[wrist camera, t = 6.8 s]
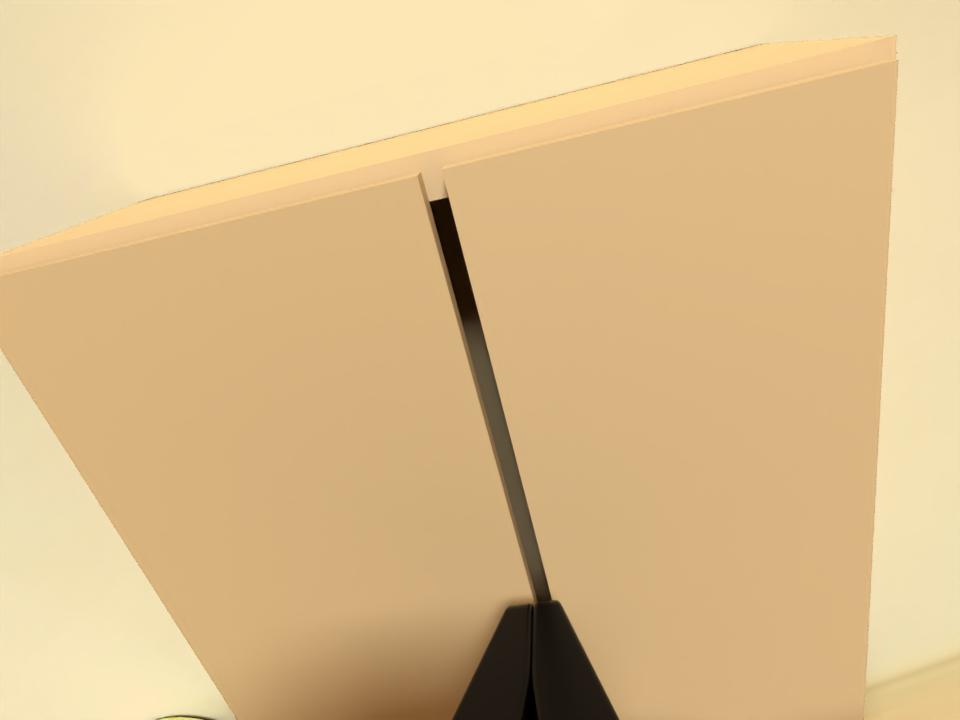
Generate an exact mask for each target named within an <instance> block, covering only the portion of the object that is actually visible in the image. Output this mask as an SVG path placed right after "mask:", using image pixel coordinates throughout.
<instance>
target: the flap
mask: <svg viewBox="0 0 960 720" xmlns="http://www.w3.org/2000/svg"><path fill="white" fill-rule="evenodd" d="M897 78H898V60H881V61H877V62H872V63H868V64H864V65H860V66H856V67H852V68H847V69H843V70H839V71H835V72H831V73H827V74H823V75H818V76H814V77H810V78H806V79H802V80H798V81H793V82H789V83H785V84H781V85H777V86H773V87H769V88H764V89H760V90H756V91H752V92H748V93H744V94H740V95H735V96H731V97H727V98H723V99H719V100H715V101H710V102H706V103H702V104H698V105H694V106H690V107H686V108H681V109H677V110H673V111H669V112H665V113H661V114H656V115H652V116H648V117H644V118H640V119H636V120H632V121H627V122H623V123H619V124H615V125H611V126H607V127H603V128H598V129H594V130H590V131H586V132H582V133H578V134H573V135H569V136H565V137H561V138H557V139H553V140H549V141H544V142H540V143H536V144H532V145H528V146H524V147H519V148H515V149H511V150H507V151H503V152H499V153H495V154H490V155H486V156H482V157H478V158H474V159H470V160H465V161H461V162H457V163H453V164H449V165H445V166H444V167H443V168H442V173H443V177H444V181H445V185H446V189H447V193H448V196H449V200H450V204H451V208H452V212H453V216H454V220H455V224H456V228H457V231H458V235H459V239H460V243H461V247H462V251H463V255H464V259H465V263H466V267H467V270H468V274H469V278H470V282H471V286H472V290H473V294H474V298H475V302H476V305H477V309H478V313H479V317H480V321H481V325H482V329H483V333H484V337H485V340H486V344H487V348H488V352H489V356H490V360H491V364H492V368H493V372H494V376H495V379H496V383H497V387H498V391H499V395H500V399H501V403H502V407H503V411H504V414H505V418H506V422H507V426H508V430H509V434H510V438H511V442H512V446H513V449H514V453H515V457H516V461H517V465H518V469H519V473H520V477H521V481H522V485H523V488H524V492H525V496H526V500H527V504H528V508H529V512H530V516H531V520H532V523H533V527H534V531H535V535H536V539H537V543H538V547H539V551H540V555H541V559H542V562H543V566H544V570H545V574H546V578H547V582H548V586H549V590H550V594H551V597H552V600H557V601H559V602H560V603H561V605H562V607H563V608H564V610H565V612H566V614H567V616H568V618H569V620H570V622H571V624H572V626H573V628H574V630H575V632H576V634H577V636H578V638H579V640H580V642H581V644H582V646H583V648H584V650H585V652H586V654H587V656H588V658H589V660H590V662H591V664H592V666H593V668H594V670H595V672H596V674H597V676H598V678H599V680H600V682H601V684H602V686H603V688H604V690H605V692H606V694H607V696H608V698H609V700H610V702H611V703H612V705H613V707H614V709H615V711H616V713H617V715H618V717H619V719H620V720H864V703H865V684H866V665H867V646H868V627H869V608H870V589H871V570H872V551H873V532H874V513H875V495H876V476H877V457H878V438H879V419H880V400H881V381H882V362H883V343H884V324H885V305H886V286H887V267H888V248H889V230H890V211H891V192H892V173H893V154H894V135H895V116H896V97H897Z"/></svg>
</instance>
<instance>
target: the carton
mask: <svg viewBox="0 0 960 720" xmlns="http://www.w3.org/2000/svg"><path fill="white" fill-rule="evenodd" d="M896 40H897V35H893V36H878V37H863V38H847V39H832V40H816V41H801V42H785V43H770V44H760V45H756V46H752V47H748V48H744V49H740V50H736V51H732V52H728V53H724V54H720V55H716V56H712V57H708V58H704V59H700V60H696V61H693V62H689V63H685V64H681V65H677V66H673V67H669V68H665V69H661V70H657V71H653V72H649V73H645V74H641V75H637V76H633V77H629V78H625V79H621V80H617V81H614V82H610V83H606V84H602V85H598V86H594V87H590V88H586V89H582V90H578V91H574V92H570V93H566V94H562V95H558V96H554V97H550V98H546V99H542V100H538V101H535V102H531V103H527V104H523V105H519V106H515V107H511V108H507V109H503V110H499V111H495V112H491V113H487V114H483V115H479V116H475V117H471V118H467V119H463V120H459V121H456V122H452V123H448V124H444V125H440V126H436V127H432V128H428V129H424V130H420V131H416V132H412V133H408V134H404V135H400V136H396V137H392V138H388V139H384V140H380V141H377V142H373V143H369V144H365V145H361V146H357V147H353V148H349V149H345V150H341V151H337V152H333V153H329V154H325V155H321V156H317V157H313V158H309V159H305V160H301V161H298V162H294V163H290V164H286V165H282V166H278V167H274V168H270V169H266V170H262V171H258V172H254V173H250V174H246V175H242V176H238V177H234V178H230V179H226V180H222V181H218V182H215V183H211V184H207V185H203V186H199V187H195V188H191V189H187V190H183V191H179V192H175V193H171V194H167V195H163V196H159V197H155V198H151V199H147V200H144V201H141V202H138V203H136V204H133V205H130V206H128V207H125V208H122V209H120V210H117V211H114V212H112V213H109V214H106V215H104V216H101V217H98V218H96V219H93V220H90V221H87V222H85V223H82V224H79V225H77V226H74V227H71V228H69V229H66V230H63V231H61V232H58V233H55V234H53V235H50V236H47V237H45V238H42V239H39V240H36V241H34V242H31V243H28V244H26V245H23V246H20V247H18V248H15V249H12V250H10V251H7V252H4V253H2V254H0V348H1V350H2V352H3V353H4V355H5V356H6V358H7V359H8V361H9V363H10V364H11V366H12V367H13V369H14V370H15V372H16V374H17V375H18V377H19V378H20V380H21V381H22V383H23V385H24V386H25V388H26V389H27V391H28V392H29V394H30V395H31V397H32V399H33V400H34V402H35V403H36V405H37V406H38V408H39V410H40V411H41V413H42V414H43V416H44V417H45V419H46V421H47V422H48V424H49V425H50V427H51V428H52V430H53V432H54V433H55V435H56V436H57V438H58V439H59V441H60V443H61V444H62V446H63V447H64V449H65V450H66V452H67V453H68V455H69V457H70V458H71V460H72V461H73V463H74V464H75V466H76V468H77V469H78V471H79V472H80V474H81V475H82V477H83V479H84V480H85V482H86V483H87V485H88V486H89V488H90V490H91V491H92V493H93V494H94V496H95V497H96V499H97V500H98V502H99V504H100V505H101V507H102V508H103V510H104V511H105V513H106V515H107V516H108V518H109V519H110V521H111V522H112V524H113V526H114V527H115V529H116V530H117V532H118V533H119V535H120V537H121V538H122V540H123V541H124V543H125V544H126V546H127V548H128V549H129V551H130V552H131V554H132V555H133V557H134V558H135V560H136V562H137V563H138V565H139V566H140V568H141V569H142V571H143V573H144V574H145V576H146V577H147V579H148V580H149V582H150V584H151V585H152V587H153V588H154V590H155V591H156V593H157V595H158V596H159V598H160V599H161V601H162V602H163V604H164V606H165V607H166V609H167V610H168V612H169V613H170V615H171V616H172V618H173V620H174V621H175V623H176V624H177V626H178V627H179V629H180V631H181V632H182V634H183V635H184V637H185V638H186V640H187V642H188V643H189V645H190V646H191V648H192V649H193V651H194V653H195V654H196V656H197V657H198V659H199V660H200V662H201V663H202V665H203V667H204V668H205V670H206V671H207V673H208V674H209V676H210V678H211V679H212V681H213V682H214V684H215V685H216V687H217V689H218V690H219V692H220V693H221V695H222V696H223V698H224V700H225V701H226V703H227V704H228V706H229V707H230V709H231V711H232V712H233V714H234V715H235V717H236V718H237V720H452V718H453V716H454V714H455V712H456V710H457V708H458V705H459V703H460V701H461V699H462V697H463V695H464V693H465V691H466V689H467V687H468V685H469V683H470V681H471V679H472V677H473V675H474V673H475V671H476V669H477V667H478V664H479V662H480V660H481V658H482V656H483V654H484V652H485V650H486V648H487V646H488V644H489V642H490V640H491V638H492V636H493V634H494V632H495V630H496V628H497V625H498V623H499V621H500V619H501V617H502V615H503V613H504V611H505V609H506V608H507V607H509V606H511V605H518V604H526V603H530V604H532V605H533V606H534V604H535V603H537V602H543V601H551V600H552V597H551V594H550V590H549V586H548V582H547V578H546V574H545V570H544V566H543V562H542V559H541V555H540V551H539V547H538V543H537V539H536V535H535V531H534V527H533V523H532V520H531V516H530V512H529V508H528V504H527V500H526V496H525V492H524V488H523V485H522V481H521V477H520V473H519V469H518V465H517V461H516V457H515V453H514V449H513V446H512V442H511V438H510V434H509V430H508V426H507V422H506V418H505V414H504V411H503V407H502V403H501V399H500V395H499V391H498V387H497V383H496V379H495V376H494V372H493V368H492V364H491V360H490V356H489V352H488V348H487V344H486V340H485V337H484V333H483V329H482V325H481V321H480V317H479V313H478V309H477V305H476V302H475V298H474V294H473V290H472V286H471V282H470V278H469V274H468V270H467V267H466V263H465V259H464V255H463V251H462V247H461V243H460V239H459V235H458V231H457V228H456V224H455V220H454V216H453V212H452V208H451V204H450V200H449V196H448V193H447V189H446V185H445V181H444V177H443V173H442V168H443V167H444V166H445V165H449V164H453V163H457V162H461V161H465V160H470V159H474V158H478V157H482V156H486V155H490V154H495V153H499V152H503V151H507V150H511V149H515V148H519V147H524V146H528V145H532V144H536V143H540V142H544V141H549V140H553V139H557V138H561V137H565V136H569V135H573V134H578V133H582V132H586V131H590V130H594V129H598V128H603V127H607V126H611V125H615V124H619V123H623V122H627V121H632V120H636V119H640V118H644V117H648V116H652V115H656V114H661V113H665V112H669V111H673V110H677V109H681V108H686V107H690V106H694V105H698V104H702V103H706V102H710V101H715V100H719V99H723V98H727V97H731V96H735V95H740V94H744V93H748V92H752V91H756V90H760V89H764V88H769V87H773V86H777V85H781V84H785V83H789V82H793V81H798V80H802V79H806V78H810V77H814V76H818V75H823V74H827V73H831V72H835V71H839V70H843V69H847V68H852V67H856V66H860V65H864V64H868V63H872V62H877V61H881V60H896Z"/></svg>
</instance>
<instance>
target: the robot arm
mask: <svg viewBox="0 0 960 720" xmlns="http://www.w3.org/2000/svg"><path fill="white" fill-rule="evenodd" d="M452 720H620V719H619V717H618V715H617V713H616V711H615V709H614V707H613V705H612V703H611V702H610V700H609V698H608V696H607V694H606V692H605V690H604V688H603V686H602V684H601V682H600V680H599V678H598V676H597V674H596V672H595V670H594V668H593V666H592V664H591V662H590V660H589V658H588V656H587V654H586V652H585V650H584V648H583V646H582V644H581V642H580V640H579V638H578V636H577V634H576V632H575V630H574V628H573V626H572V624H571V622H570V620H569V618H568V616H567V614H566V612H565V610H564V608H563V607H562V605H561V603H560V602H559V601H557V600H551V601H543V602H537V603H535V604H534V606H533V605H532V604H530V603H526V604H518V605H511V606H509V607H507V608H506V609H505V611H504V613H503V615H502V617H501V619H500V621H499V623H498V625H497V628H496V630H495V632H494V634H493V636H492V638H491V640H490V642H489V644H488V646H487V648H486V650H485V652H484V654H483V656H482V658H481V660H480V662H479V664H478V667H477V669H476V671H475V673H474V675H473V677H472V679H471V681H470V683H469V685H468V687H467V689H466V691H465V693H464V695H463V697H462V699H461V701H460V703H459V705H458V708H457V710H456V712H455V714H454V716H453V718H452Z"/></svg>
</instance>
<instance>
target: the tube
mask: <svg viewBox="0 0 960 720" xmlns="http://www.w3.org/2000/svg"><path fill="white" fill-rule="evenodd" d="M159 720H202V719H197V718H187V717H173V718H164V719H159Z"/></svg>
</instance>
